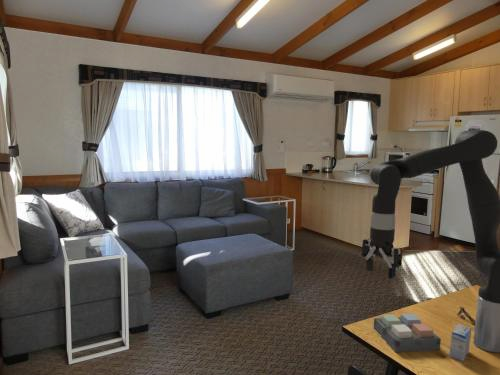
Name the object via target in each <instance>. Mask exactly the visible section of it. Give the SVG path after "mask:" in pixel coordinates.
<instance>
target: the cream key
mask: <svg viewBox="0 0 500 375" xmlns="http://www.w3.org/2000/svg"><path fill="white" fill-rule="evenodd" d="M391 332H392V333H393V334H394V335H395V336H396V337H397V338H398V339H399V338H412V330H410V329H409V328H408V327H407V326H406V325H405V324H401V325H392V329H391Z"/></svg>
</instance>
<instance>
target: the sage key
mask: <svg viewBox="0 0 500 375" xmlns="http://www.w3.org/2000/svg"><path fill="white" fill-rule="evenodd" d="M380 316H381V321H382V322H383V323H384V325H385V326H386V327H392V325H400V322H401V320H399V319H398V318H397V317H398V316H396V315H395V314H393V313H392V314H381V315H380Z"/></svg>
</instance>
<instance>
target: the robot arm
mask: <svg viewBox="0 0 500 375" xmlns="http://www.w3.org/2000/svg"><path fill="white" fill-rule="evenodd" d="M497 147H498V139H497V137H496V134H494V133H493V132H491V131H488V130H485V129H472V130H464V131H461V132H460V133H459V134H458V135H457V136H456V138H455V141H454V143H453V144H448V145H445V146H440V147H436V148H430V149H425V150H423V151H422V150H421V151H420V152H416V153H413V154H409V155H407V156H404V157H402V158H397V159H393V160H389V161H384V162H381V163H379V164H376V165H375V166H373V167H372V169H371V171H370V175H369V176H370V179H371V181H372V182H373V183H374V184H375V185H378V188H377V193H375V194H374V195H373V197H372V204H371V205H372V206H371V214H370V231H369V238H364V239H363V240H362V245H361V256H362V257H363V258H365V262H366V265H365V267H366V268H365V269H366V271H367V272H372V271H373V270H374V258H375V257H379V258H381V259H383V260H384V261H385V262H386V263H387V266H388V268H387V279H389V280H392V279H394V278H395V277H396V269H397V268H401V267H402V265H403V249H402V248H401V247H395V246H394V241H395V236H396V235H395V234H396V233H395V232H396V200H397V197H398V194H399V190H400V187H401V182H402V180H403V179H412V178H416V177H419V176H422V175H425V174H428V173H431V172H433V171H436V170H439V169H442V168H446V167H449V166H452V165H455V164H459V167H460V170H461V173H462V177H463V178H462V179H463V183H464V187H465V192H466V198H467V204H468V205H467V206H468V211H469V215H470V219H471V226H472V231H473V236H474V244H475V245H474V246H475V259H476V260H475V261H476V264H477V268H478V269H479V271H480V273H482V274H483V275H484V276H487V277H488V281H487V285H482V286H480V287H479V288H478V294H477V295H478V296H477V304H476V312H475V313H476V314H475V324H474V332H473V341H472V342H473V344H474V345H475V346H476V347H478V348H480V349H481V350H484V351H487V352H491V353H500V248H499V243H498V238H497V234H498V229H499V227H500V194H499V192H498V190H497V188H496V187H495V185H494V183H493V182H492V181H491V179H490V178H489V176H488V175H487V173H486V171H485V168H484V164H483V159H486V158H489V157H491V156H492V155H493V154H494V153H495V152H496V151H497V149H498V148H497Z"/></svg>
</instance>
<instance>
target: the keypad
mask: <svg viewBox="0 0 500 375" xmlns="http://www.w3.org/2000/svg"><path fill="white" fill-rule="evenodd" d="M396 317H397V318H398V319H399V320H401V316H400V317H398V316H396ZM401 324H404V323H403V322H402V321H401V322H400V325H401ZM420 324H423V322H421V321H420ZM408 328H409V329H410V330H412V326H409V327H408ZM374 329H375V330H376V331H377V332H378V333H379V334H380V335H381V336H380V335H379V334H378V333H377V332H376V331H375V330H374ZM391 329H392V327H386V326H385V325H384V323H383V322H382V321H381V318H379V317H377V318H373V330H374V331H375V332H376V333H377V334H378V335H379V336H380V337H381V339H384V340H385V341H386V342H387V343H386V342H385V341H384V340H383V341H384V342H385V343H386V344H387V346H389V347H390V349H391V350H392V351H393V350H394V351H393V352H395V353H406V352H407V353H411V352H424V351H425V352H426V351H427V352H429V351H440V349H441V342H442V340H441V337H439V335H437V334H436V333H434V332H433V337H420V338H419V337H418V336H417V335H416V334H415V333H414V332H413V331H412V338H399V339H398V338H397V337H396V336H395V335H394V334H393V333H392V332H391Z"/></svg>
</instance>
